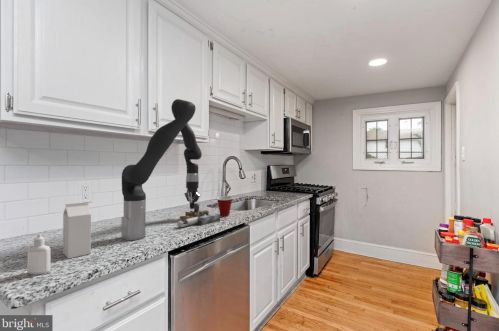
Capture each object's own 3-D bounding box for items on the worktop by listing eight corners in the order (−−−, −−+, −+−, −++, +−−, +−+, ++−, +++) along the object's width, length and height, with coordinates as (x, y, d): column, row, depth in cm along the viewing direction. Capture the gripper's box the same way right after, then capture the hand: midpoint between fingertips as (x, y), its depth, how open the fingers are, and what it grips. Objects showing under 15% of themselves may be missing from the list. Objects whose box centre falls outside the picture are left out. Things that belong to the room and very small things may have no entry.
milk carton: (90, 253, 95) (91, 203, 94) (68, 259, 89) (68, 205, 89) (85, 249, 99) (85, 201, 99) (62, 254, 94) (63, 203, 94)
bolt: (203, 218, 147) (203, 205, 147) (192, 215, 153) (193, 203, 153) (207, 217, 149) (207, 205, 149) (196, 215, 155) (197, 203, 155)
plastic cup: (212, 216, 163) (213, 197, 163) (221, 213, 173) (221, 195, 173) (227, 217, 159) (228, 198, 159) (235, 214, 169) (235, 196, 169)
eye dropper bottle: (36, 277, 75) (36, 237, 75) (25, 273, 78) (25, 234, 77) (52, 271, 79) (52, 233, 79) (41, 268, 82) (42, 231, 81)
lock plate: (202, 225, 139) (202, 214, 139) (178, 219, 152) (178, 209, 152) (220, 221, 150) (220, 210, 150) (196, 215, 163) (197, 206, 163)
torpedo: (181, 228, 131) (181, 216, 130) (175, 227, 133) (175, 214, 133) (205, 222, 146) (205, 210, 145) (199, 221, 148) (200, 209, 148)
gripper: (180, 180, 157) (180, 208, 157) (194, 181, 148) (194, 211, 149) (190, 179, 162) (190, 206, 163) (204, 180, 154) (203, 209, 154)
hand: (192, 208), depth 156 cm, fingers closed
